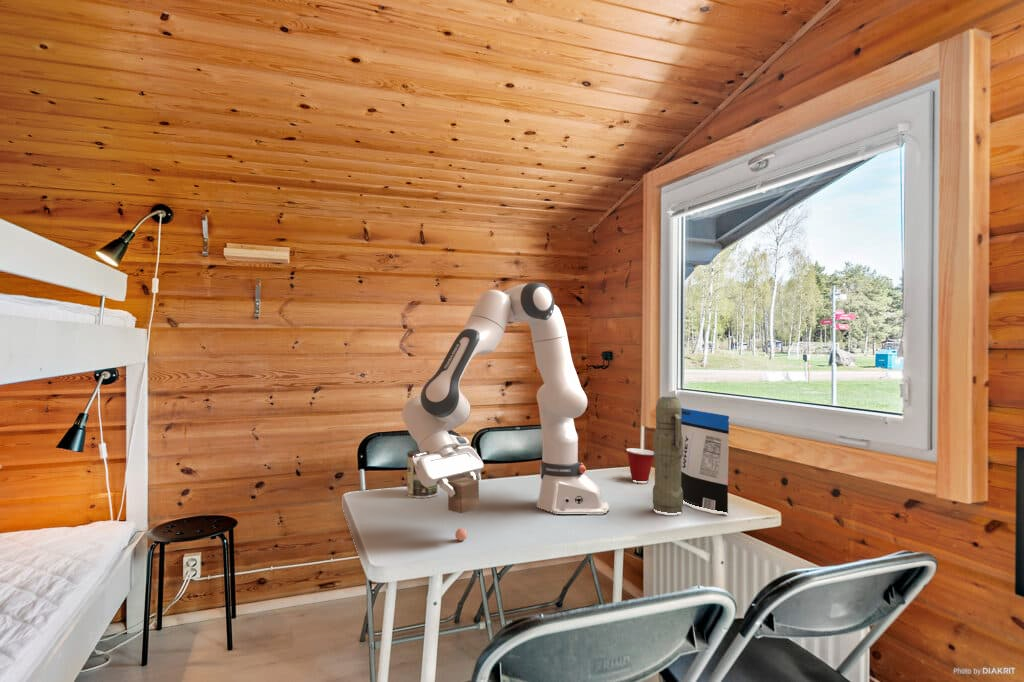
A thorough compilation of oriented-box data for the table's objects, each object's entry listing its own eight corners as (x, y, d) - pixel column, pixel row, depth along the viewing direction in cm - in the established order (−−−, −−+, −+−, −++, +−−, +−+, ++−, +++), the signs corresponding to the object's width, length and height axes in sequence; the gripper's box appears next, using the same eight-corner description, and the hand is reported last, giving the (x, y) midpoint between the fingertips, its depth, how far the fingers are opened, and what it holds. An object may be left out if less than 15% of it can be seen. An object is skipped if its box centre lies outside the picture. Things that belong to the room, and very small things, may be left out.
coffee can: (444, 493, 199) (444, 451, 199) (424, 500, 190) (424, 456, 190) (420, 489, 204) (421, 448, 204) (400, 495, 195) (400, 452, 195)
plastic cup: (658, 485, 214) (659, 452, 214) (629, 485, 214) (629, 452, 214) (651, 479, 225) (651, 447, 225) (623, 478, 225) (623, 447, 225)
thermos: (667, 505, 187) (668, 395, 188) (691, 515, 176) (693, 398, 177) (643, 508, 184) (645, 395, 184) (667, 518, 173) (668, 399, 173)
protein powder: (714, 517, 175) (716, 416, 175) (666, 497, 197) (667, 408, 198) (740, 514, 178) (741, 415, 178) (689, 495, 201) (690, 407, 201)
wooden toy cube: (448, 510, 150) (448, 481, 150) (465, 504, 155) (465, 477, 155) (461, 513, 147) (461, 484, 147) (478, 508, 152) (478, 480, 152)
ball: (467, 538, 152) (468, 527, 152) (465, 542, 149) (465, 530, 149) (456, 538, 152) (456, 526, 152) (454, 542, 149) (454, 530, 149)
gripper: (414, 447, 148) (441, 492, 141) (471, 437, 163) (497, 477, 157) (402, 463, 150) (428, 508, 144) (460, 451, 166) (485, 491, 160)
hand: (465, 492), depth 151 cm, fingers closed on wooden toy cube, 6 cm apart
